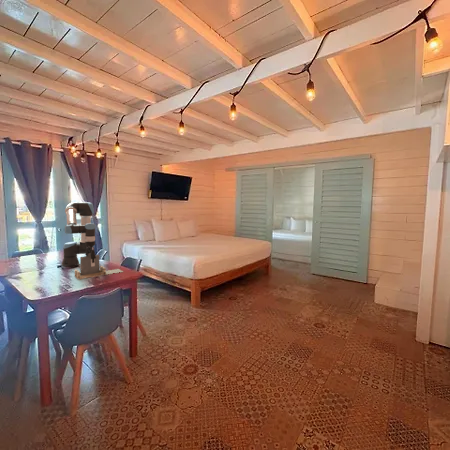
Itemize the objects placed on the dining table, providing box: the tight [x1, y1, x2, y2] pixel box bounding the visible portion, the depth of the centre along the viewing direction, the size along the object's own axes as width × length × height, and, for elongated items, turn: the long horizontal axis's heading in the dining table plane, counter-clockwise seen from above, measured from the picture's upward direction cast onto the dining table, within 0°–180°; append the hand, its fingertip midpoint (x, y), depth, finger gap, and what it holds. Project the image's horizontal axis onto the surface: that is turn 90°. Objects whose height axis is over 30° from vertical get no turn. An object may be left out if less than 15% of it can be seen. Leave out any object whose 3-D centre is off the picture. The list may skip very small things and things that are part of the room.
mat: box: [106, 268, 124, 275], centre depth 225 cm, size 12×15×1 cm
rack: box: [74, 265, 107, 280], centre depth 212 cm, size 10×22×6 cm, turn 135°
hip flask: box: [79, 253, 100, 276], centre depth 211 cm, size 16×4×20 cm, turn 145°
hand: (90, 264), depth 211 cm, fingers open, 13 cm apart
